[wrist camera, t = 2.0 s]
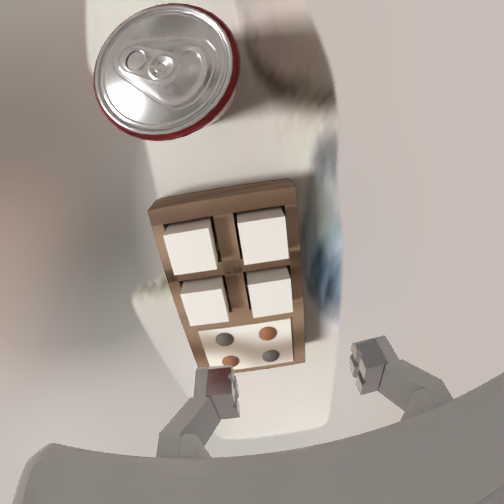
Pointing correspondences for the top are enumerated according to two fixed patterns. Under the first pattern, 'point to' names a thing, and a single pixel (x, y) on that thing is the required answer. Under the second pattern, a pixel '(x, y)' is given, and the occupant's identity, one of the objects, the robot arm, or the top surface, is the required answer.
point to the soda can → (167, 72)
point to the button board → (238, 277)
